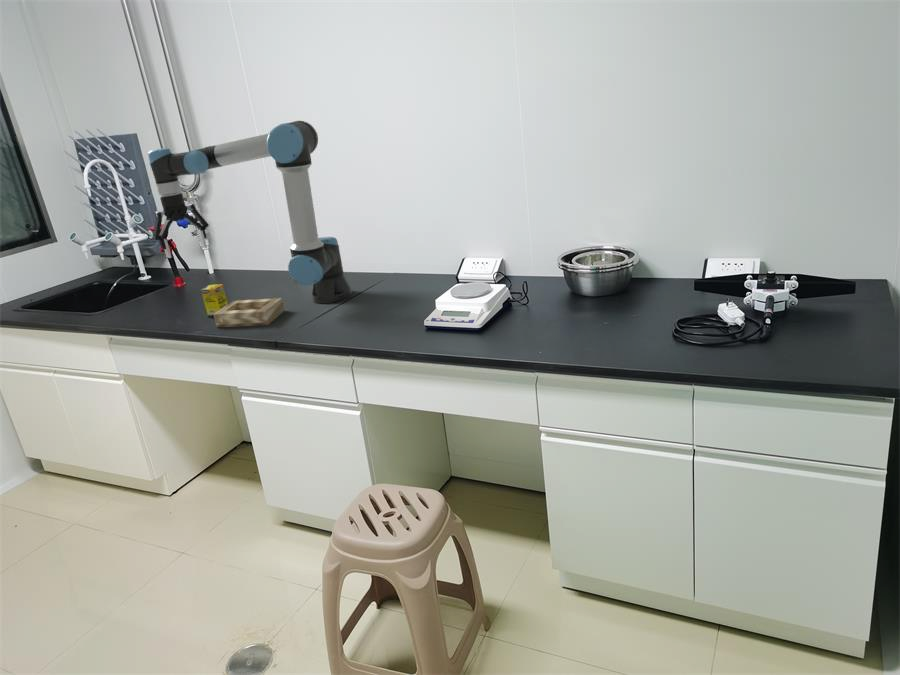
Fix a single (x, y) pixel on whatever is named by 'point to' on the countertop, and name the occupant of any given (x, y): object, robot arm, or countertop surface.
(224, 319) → the wooden tray
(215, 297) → the supplement box
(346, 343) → the countertop surface
